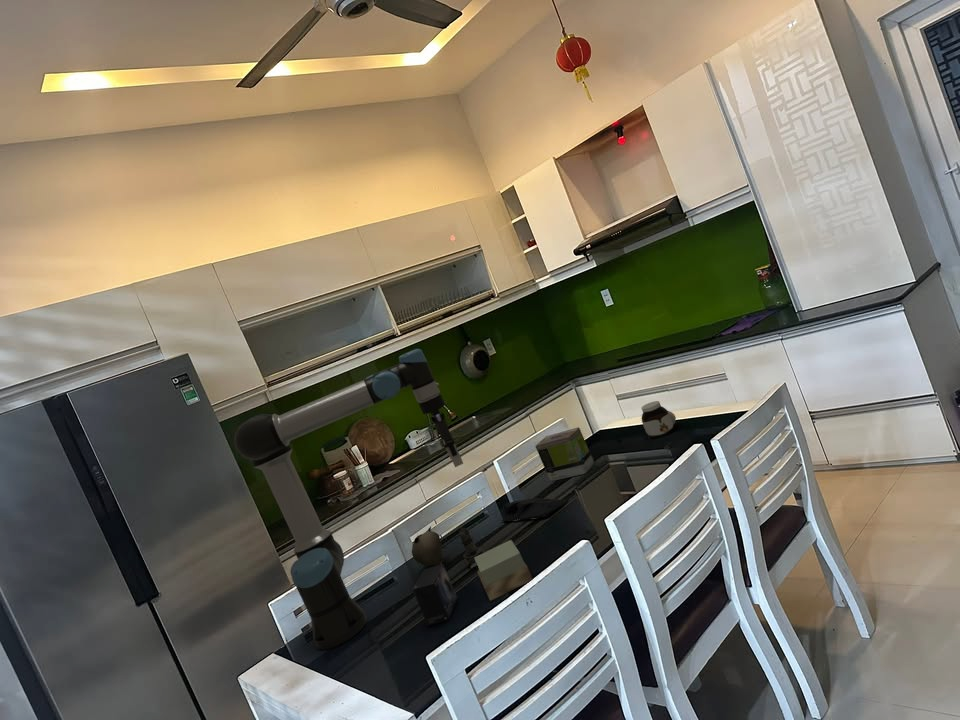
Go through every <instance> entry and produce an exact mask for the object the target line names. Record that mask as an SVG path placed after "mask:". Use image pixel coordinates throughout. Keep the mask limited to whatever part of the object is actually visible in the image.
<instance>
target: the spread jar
mask: <svg viewBox="0 0 960 720" xmlns="http://www.w3.org/2000/svg"><path fill="white" fill-rule="evenodd" d="M640 409H641V410H642V414H641V423H642V426H643V428H644V430H645V432H646V434H647V435H648V436H649V437H651V438H654V439H657V438H658V439H659V438H662V437H665V436H667V435H669V434H670V433H671V432H672V431H673V429H674V425H675V424H676V418H677V417H676V414H674V413H673V412H672V411H671V410H668V409H667V408H665V407H663V406H661V402H660V401H659V400H654V401H651V402H648V403H645V404H644V405H642V406H641V408H640Z"/></svg>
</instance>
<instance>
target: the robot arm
mask: <svg viewBox="0 0 960 720" xmlns="http://www.w3.org/2000/svg"><path fill="white" fill-rule="evenodd" d="M423 352H424V351H423V350H422V349H421V348H415V349H413V350H410V351H408V352H405V353H404V354H403V353H402V355H400V356H398V360H399V362H398V363H397V364H395V365H392V366H390V367H387V368H385V369H382V370H380V371H377V372H375V373H373V374H371V375H368V376H367V377H366V378H365V379H362V380H360V381H359V382H355V383H353V384H351V385H348V386H345V387H344V388H342V389H339V390H337V391H334V392H331V393H329V394H328V395H325V396H322V397H320V398H317V399H315V400H313V401H311V402H309V403H305V404H304V405H302V406H299V407H297V408H294V409H291V410H289V411H287V412H284V413H282V414H279V415H278V414H276V413H273V414H267V413H266V414H265V413H263V414H259V415H258V414H257V415H255V416H253V417H251V418H249V419H248V420H246V421H244V422H243V423H241V424H240V425H239V426H238V428H237V430H236V432H235V434H234V440H233V441H234V446H235V449H236V451H237V452H238V453H239V455H240V456H242V457H243V458H244V459H247V460H250V462H251V463H252V466H253V467H254V469H258V470H260V471H262V473H263V476H264V478H265V480H266V482H267V484H268V487H269V488H270V490H271V493H272V494H273V496H274V499H275V500H276V501H275V502H277V503H276V504H277V505H278V506H279V509H280V511H281V513H282V516H283V518H284V520H285V521H286V524H287V526H288V528H289V530H290V533H291V535H292V536H293V537H292V538H293V539H294V541H295V545H294V547H293V548H294V549H293V551H294V553H295V556H296V558H297V559H296V560H295V561H294V562H293V563H292V565H291V566H290V575H291V580H292V582H293V584H294V585H295V587H296V589H297V591H298V593H299V596H300V598H301V600H302V602H303V604H304V606H305V608H306V611H307V613H308V614H309V618H310V619H311V620H310V621H311V629H312V639H313V642H314V644H315V647H316V648H317V649H318V650H321V651H324V650H330V649H333V648H335V647H337V646H340V645H341V644H344V643H346V642H347V641H349V640H351V639H352V638H353V637H355V636H356V635H357V634H358V633H359V632H360V631H362V629H363V628H364V627H365V626H366V624H367V621H368V617H367V615H366V613H365V611H364V609H362V607H361V606H359V604H358V603H357V602H356V601H355V600H354V599H353V598H352V597H351V595H350V594H349V592H348V589H347V587H346V585H345V583H344V580H343V578H342V576H341V575H342V571H343V566H344V564H345V557H344V556H345V554H344V551H343V548H342V546H341V545H340V543H339V542H337V541H336V540H335V538H334V536H333V534H332V532H331V531H330V530H329V529H326V528H324V527H323V525H322V523H321V521H320V519H319V515H318V514H317V511H316V510H315V508H314V506H313V504H312V502H311V499H310V497H309V495H308V493H307V491H306V489H305V487H304V484H303V482H302V480H301V478H300V476H299V474H298V472H297V469H296V468H295V467H296V466H294V463H293V461H292V459H291V454H292V452H293V449H292V448H293V447H291V444H290V442H291V441H293V440H295V439H298V438H299V437H302V436H304V435H307V434H309V433H311V432H314V431H315V430H318V429H322V428H323V427H325V426H327V425H329V424H330V425H331V424H332V423H334V422H336V421H339V420H341V419H343V418H346V417H348V416H350V415H353V414H355V413H358V412H360V411H362V410H364V409H366V408H369V407H371V406H374V405H376V404H379V403H381V402H383V401H386V400H390V399H393V398H395V397H397V395H398V394H399V392H400V391H401V390H403V389H405V388H408V387H409V386H410V388H411V390H412V393H413V396H414V397H415V399H416V402H418V406H419V408H420V410H421V413H422V415H428V414H430V415H431V416H432V417H430V420H431V421H432V423H433V425H434V426H435V428H436V430H437V431H438V433H439V436H440V438H441V440H442V442H443V447H444V449H445V450H446V451H447V454H448V457H449V458H450V460H451V461H452V464H453V466H454V467H455V468H457V467H459V466H462V465H463V464H464V462H463V459H462V457H461V455H460V452H459V450H458V447H457V445H456V443H455V440H454V439H453V437H452V433H451V431H450V429H449V428H448V423H447V420H446V417H445V414H444V413H443V412H440V409H442V408H443V407H445V405H446V402H445V399H444V398H443V396H442V394H440V392H441V391H440V389H439V387H438V386H440V383H439V382H436V379H435V377H434V373H433V372H432V369H431V367H430V365H429V363H428V360H427V358H426V356H425V354H424V353H423Z"/></svg>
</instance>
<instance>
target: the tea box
mask: <svg viewBox="0 0 960 720" xmlns="http://www.w3.org/2000/svg"><path fill="white" fill-rule="evenodd" d="M534 447H535V449H536V451H537V454H538V456H539V458H540V460H541V463H542V465H543V467H544V469H545V472H546V475H547V477H548V479H549V481H550V482H554V481H557V480H562V479H567V478H572V477H577V476H580V475H581V476H582V475H585V474H587V472H588V471H589V470H590V469H591V468H592V467H593V466H594V464H595V462H594V458H593V456H592V454H591V452H590V450H589V448H588V444H587V442H586V439H585V437H584V435H583V433H582V430H581V428H580V427H575V428H572V429H571V428H570V429H568V430H567V429H566V430H563V431H560V432H557V433H553V434H550V435H546V436H544V437H543V438H542V439H541V440H540V441H539V442H537V444H536V445H535V446H534Z"/></svg>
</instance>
